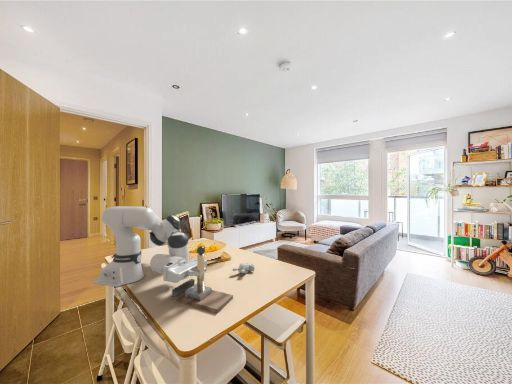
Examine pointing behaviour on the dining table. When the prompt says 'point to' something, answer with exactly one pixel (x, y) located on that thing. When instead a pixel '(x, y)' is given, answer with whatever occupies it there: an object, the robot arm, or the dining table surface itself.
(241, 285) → the dining table surface
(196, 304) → the press base
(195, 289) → the grey upright rod
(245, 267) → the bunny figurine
